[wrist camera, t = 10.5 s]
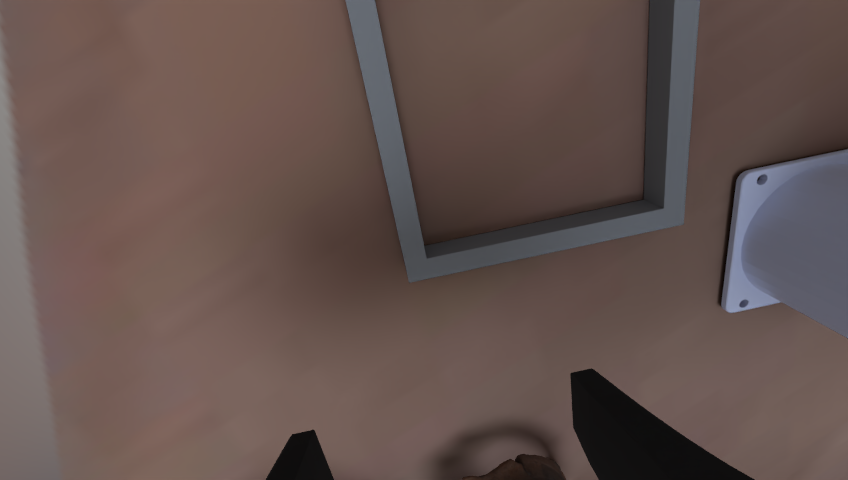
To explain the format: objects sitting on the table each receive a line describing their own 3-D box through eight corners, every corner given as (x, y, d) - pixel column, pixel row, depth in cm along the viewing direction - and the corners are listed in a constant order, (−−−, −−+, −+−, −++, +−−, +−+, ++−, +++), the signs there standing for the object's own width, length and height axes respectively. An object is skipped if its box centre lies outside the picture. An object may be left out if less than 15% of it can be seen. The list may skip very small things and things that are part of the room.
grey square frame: (678, -109, 15) (709, -129, 13) (662, 214, 20) (683, 224, 18) (336, -44, 15) (332, -57, 13) (407, 268, 19) (409, 282, 18)
